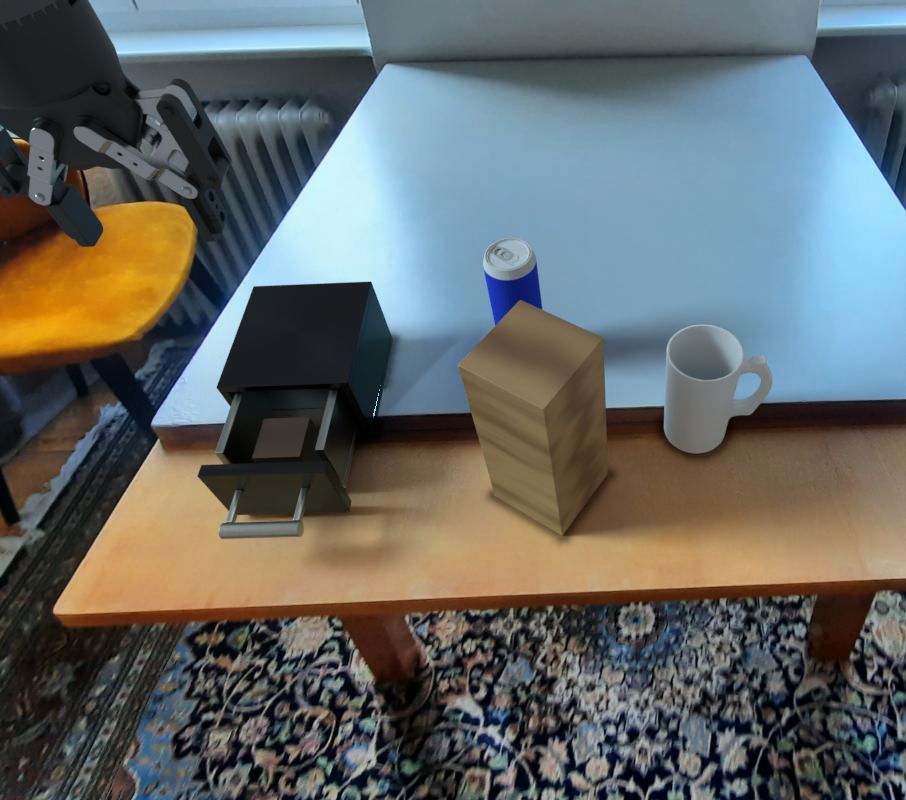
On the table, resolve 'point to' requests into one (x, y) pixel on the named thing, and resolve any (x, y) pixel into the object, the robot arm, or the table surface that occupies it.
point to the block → (286, 441)
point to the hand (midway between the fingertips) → (155, 236)
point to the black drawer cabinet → (312, 345)
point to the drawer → (282, 482)
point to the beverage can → (511, 276)
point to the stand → (540, 413)
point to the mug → (707, 386)
